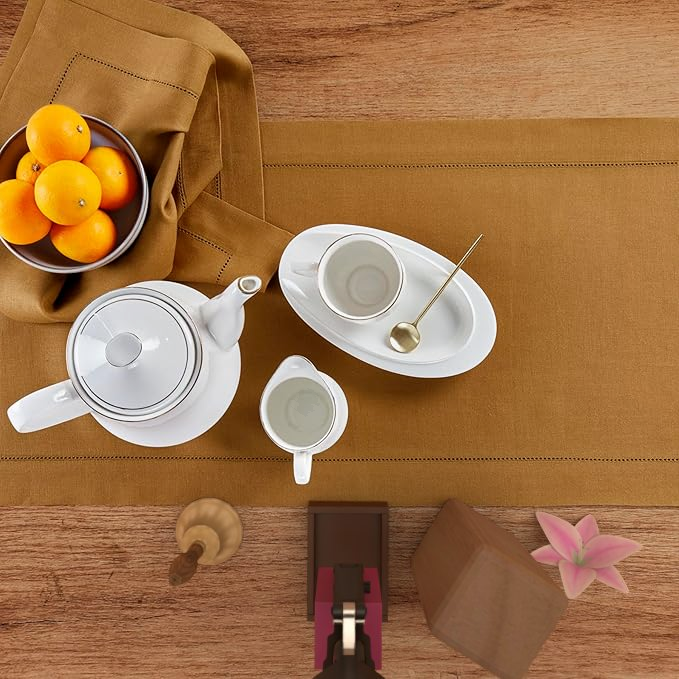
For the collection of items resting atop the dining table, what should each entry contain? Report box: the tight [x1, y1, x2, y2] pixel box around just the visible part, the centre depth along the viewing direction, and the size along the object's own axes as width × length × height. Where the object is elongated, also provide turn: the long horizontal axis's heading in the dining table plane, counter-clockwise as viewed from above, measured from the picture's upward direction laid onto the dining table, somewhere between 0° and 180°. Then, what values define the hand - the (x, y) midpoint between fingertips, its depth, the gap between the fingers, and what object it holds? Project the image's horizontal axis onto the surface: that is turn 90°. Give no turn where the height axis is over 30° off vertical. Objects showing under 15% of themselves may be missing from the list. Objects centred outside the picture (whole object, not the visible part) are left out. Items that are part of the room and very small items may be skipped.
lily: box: [529, 510, 644, 600], centre depth 76 cm, size 12×12×10 cm
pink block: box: [313, 567, 383, 671], centre depth 62 cm, size 6×6×9 cm
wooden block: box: [409, 497, 570, 679], centre depth 70 cm, size 10×10×20 cm
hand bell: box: [168, 497, 244, 587], centre depth 72 cm, size 8×8×16 cm
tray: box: [306, 500, 390, 623], centre depth 78 cm, size 14×10×3 cm
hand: (348, 603), depth 65 cm, fingers closed on pink block, 6 cm apart
